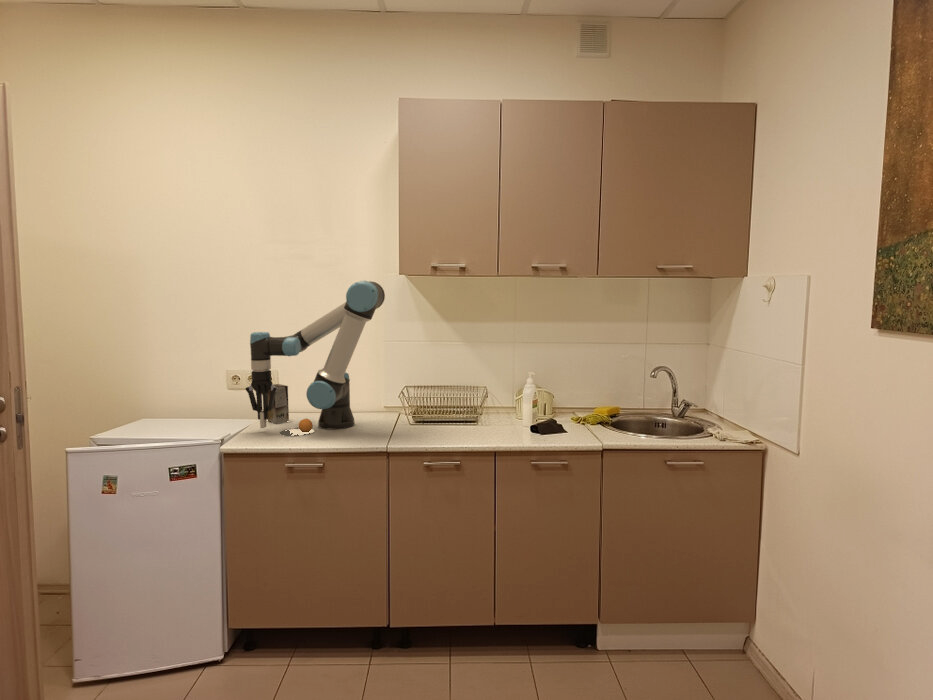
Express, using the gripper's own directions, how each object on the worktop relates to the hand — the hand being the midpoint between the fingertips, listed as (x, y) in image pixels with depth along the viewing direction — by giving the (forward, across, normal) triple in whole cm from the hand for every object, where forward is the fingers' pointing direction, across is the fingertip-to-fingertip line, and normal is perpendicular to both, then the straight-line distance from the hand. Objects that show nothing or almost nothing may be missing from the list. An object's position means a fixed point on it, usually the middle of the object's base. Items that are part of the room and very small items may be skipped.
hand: (263, 427), depth 238 cm
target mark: (+2, -14, 0) cm, 14 cm away
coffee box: (+2, +1, -19) cm, 19 cm away
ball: (-1, -18, 0) cm, 18 cm away
